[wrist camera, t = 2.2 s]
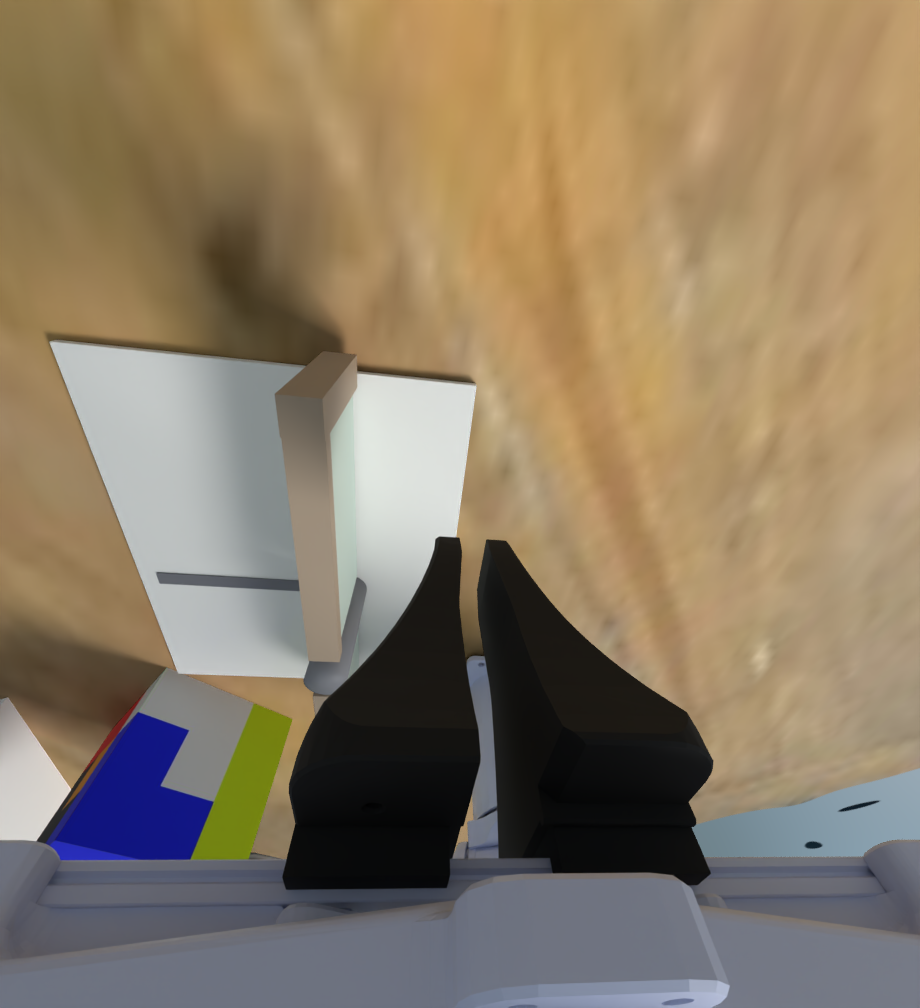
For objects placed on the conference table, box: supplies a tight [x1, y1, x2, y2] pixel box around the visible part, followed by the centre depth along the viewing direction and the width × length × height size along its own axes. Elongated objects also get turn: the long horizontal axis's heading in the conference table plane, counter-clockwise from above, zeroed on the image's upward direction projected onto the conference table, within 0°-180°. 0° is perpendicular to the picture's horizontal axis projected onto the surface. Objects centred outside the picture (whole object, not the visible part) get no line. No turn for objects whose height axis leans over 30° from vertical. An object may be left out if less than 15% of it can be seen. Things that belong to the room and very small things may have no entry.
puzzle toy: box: [37, 668, 292, 860], centre depth 28 cm, size 10×10×10 cm
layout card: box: [49, 340, 476, 678], centre depth 24 cm, size 18×22×1 cm
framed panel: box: [275, 351, 357, 662], centre depth 18 cm, size 12×1×6 cm, turn 173°
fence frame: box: [304, 577, 367, 716], centre depth 25 cm, size 2×10×7 cm, turn 174°
